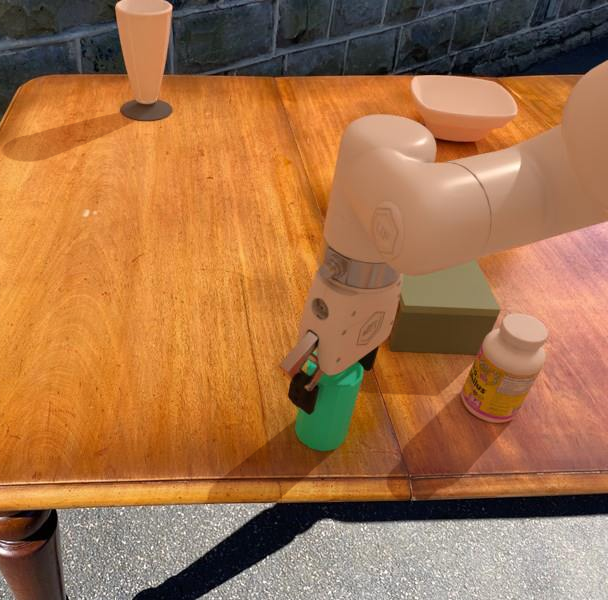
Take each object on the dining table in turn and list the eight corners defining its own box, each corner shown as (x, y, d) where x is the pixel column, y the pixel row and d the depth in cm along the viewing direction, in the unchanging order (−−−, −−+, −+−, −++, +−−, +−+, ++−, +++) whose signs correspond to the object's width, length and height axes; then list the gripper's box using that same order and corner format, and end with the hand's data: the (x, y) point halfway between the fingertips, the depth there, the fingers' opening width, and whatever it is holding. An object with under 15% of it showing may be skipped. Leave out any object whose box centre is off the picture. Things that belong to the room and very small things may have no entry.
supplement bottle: (455, 380, 80) (488, 303, 72) (509, 387, 80) (548, 310, 71) (464, 421, 75) (500, 343, 67) (522, 429, 74) (565, 351, 66)
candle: (350, 452, 71) (372, 379, 63) (296, 450, 71) (312, 377, 63) (342, 410, 76) (361, 337, 68) (292, 408, 76) (305, 335, 68)
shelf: (481, 355, 84) (501, 309, 79) (390, 351, 84) (404, 305, 79) (430, 235, 105) (443, 193, 100) (358, 232, 105) (367, 189, 100)
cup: (177, 119, 136) (178, 13, 122) (124, 122, 134) (118, 14, 120) (167, 97, 145) (167, -4, 131) (117, 100, 142) (111, -3, 128)
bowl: (488, 116, 143) (501, 79, 137) (513, 159, 127) (528, 119, 122) (396, 109, 144) (404, 72, 138) (409, 151, 128) (419, 111, 123)
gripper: (330, 316, 51) (301, 448, 62) (451, 240, 60) (407, 366, 71) (264, 271, 55) (248, 401, 66) (386, 206, 64) (354, 330, 75)
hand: (330, 383), depth 68 cm, fingers open, 9 cm apart
